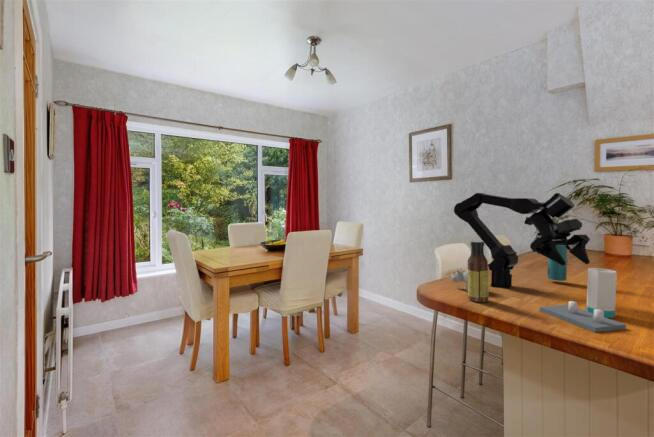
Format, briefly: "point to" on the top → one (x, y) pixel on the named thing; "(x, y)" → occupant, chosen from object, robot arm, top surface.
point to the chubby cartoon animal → (460, 277)
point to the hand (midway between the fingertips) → (576, 264)
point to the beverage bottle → (558, 266)
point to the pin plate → (583, 317)
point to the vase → (601, 291)
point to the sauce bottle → (478, 273)
